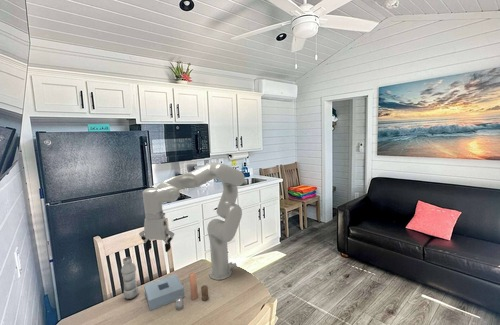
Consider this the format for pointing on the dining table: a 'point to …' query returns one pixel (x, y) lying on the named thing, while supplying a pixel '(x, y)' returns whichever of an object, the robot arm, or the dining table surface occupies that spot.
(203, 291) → the mid pin
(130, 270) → the plastic bottle
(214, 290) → the dining table surface
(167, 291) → the hole block
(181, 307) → the short pin
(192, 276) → the long pin
